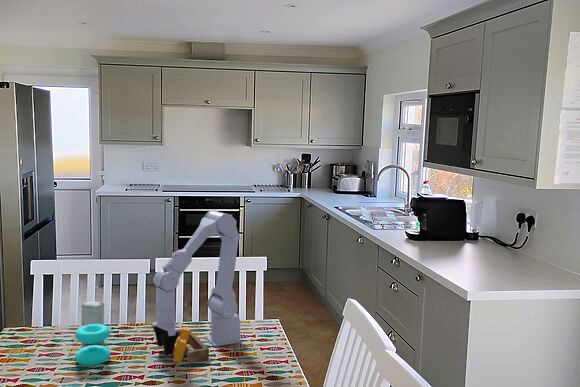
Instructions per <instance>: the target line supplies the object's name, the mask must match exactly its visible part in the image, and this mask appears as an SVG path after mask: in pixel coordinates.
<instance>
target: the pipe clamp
mask: <svg viewBox="0 0 580 387" xmlns="http://www.w3.org/2000/svg"><path fill="white" fill-rule="evenodd" d="M180 330H181V334H180V336H179V337H178V338H177V340H176V343H175V346H174V350H173V353H172V355H173V354H174V355H173V359H172V362H175V363H182V362H183V359H184V356H185V352H186V351H187V345H188V342H187V341H188V337H189V332H190V331H191V328H189V327H181V329H180Z"/></svg>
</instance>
